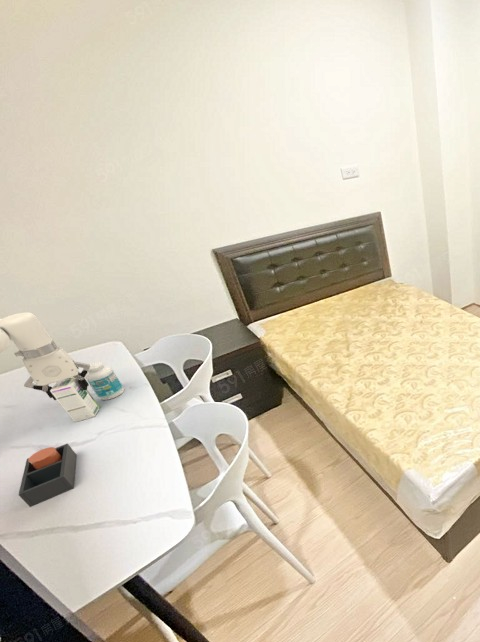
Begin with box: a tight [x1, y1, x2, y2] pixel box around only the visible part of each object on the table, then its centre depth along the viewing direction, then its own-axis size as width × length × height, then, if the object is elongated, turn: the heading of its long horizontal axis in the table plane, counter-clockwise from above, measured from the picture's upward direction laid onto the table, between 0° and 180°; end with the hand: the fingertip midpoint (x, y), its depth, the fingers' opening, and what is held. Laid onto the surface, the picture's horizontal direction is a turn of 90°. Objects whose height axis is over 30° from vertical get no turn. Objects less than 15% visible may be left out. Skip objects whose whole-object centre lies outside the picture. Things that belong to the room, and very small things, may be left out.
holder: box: [18, 443, 78, 508], centre depth 114 cm, size 9×17×6 cm, turn 41°
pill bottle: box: [84, 361, 125, 401], centre depth 147 cm, size 8×7×14 cm
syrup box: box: [50, 377, 101, 423], centre depth 137 cm, size 6×6×14 cm
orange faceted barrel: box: [27, 446, 62, 470], centre depth 116 cm, size 6×6×7 cm
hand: (71, 392), depth 136 cm, fingers closed on syrup box, 6 cm apart
